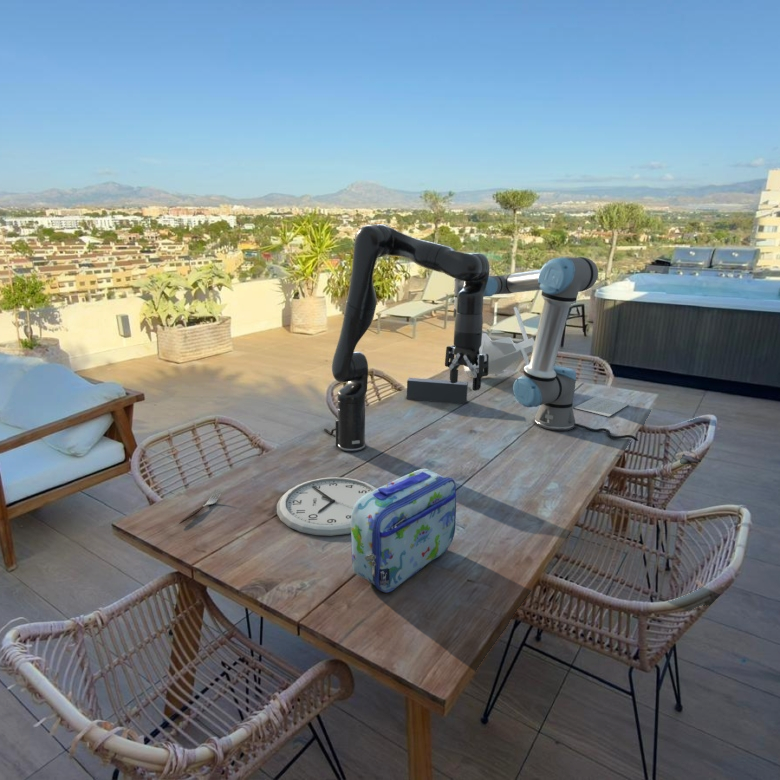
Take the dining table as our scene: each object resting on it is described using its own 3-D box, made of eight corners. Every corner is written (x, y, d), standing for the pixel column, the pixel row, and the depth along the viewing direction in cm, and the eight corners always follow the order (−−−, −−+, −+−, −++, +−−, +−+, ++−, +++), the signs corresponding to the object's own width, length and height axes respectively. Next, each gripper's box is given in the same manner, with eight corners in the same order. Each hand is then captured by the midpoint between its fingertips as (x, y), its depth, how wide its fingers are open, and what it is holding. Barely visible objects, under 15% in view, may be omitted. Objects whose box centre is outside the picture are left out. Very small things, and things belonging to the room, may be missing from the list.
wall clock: (392, 527, 129) (268, 531, 127) (391, 533, 130) (269, 537, 127) (383, 473, 158) (282, 475, 155) (383, 478, 158) (282, 480, 156)
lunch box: (379, 605, 105) (380, 513, 99) (344, 580, 112) (343, 493, 106) (459, 552, 123) (464, 471, 116) (425, 533, 130) (428, 456, 124)
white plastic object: (484, 418, 267) (463, 395, 242) (465, 346, 289) (445, 318, 264) (554, 394, 255) (540, 367, 230) (529, 321, 277) (514, 289, 252)
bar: (466, 400, 231) (467, 382, 229) (466, 403, 227) (467, 385, 225) (408, 395, 236) (409, 377, 234) (406, 399, 232) (407, 380, 230)
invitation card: (608, 416, 214) (573, 407, 224) (608, 416, 214) (573, 408, 224) (628, 404, 229) (594, 396, 238) (628, 405, 229) (594, 397, 238)
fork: (175, 524, 132) (174, 517, 132) (215, 495, 146) (215, 489, 146) (183, 526, 131) (182, 519, 131) (223, 497, 146) (222, 490, 145)
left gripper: (440, 326, 145) (437, 382, 150) (478, 335, 134) (474, 395, 139) (459, 323, 149) (456, 378, 154) (497, 332, 139) (493, 390, 143)
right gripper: (456, 303, 230) (454, 350, 236) (450, 311, 207) (448, 363, 213) (473, 304, 229) (471, 351, 235) (469, 312, 205) (467, 364, 211)
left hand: (464, 386), depth 147 cm, fingers open, 8 cm apart
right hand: (460, 357), depth 224 cm, fingers open, 13 cm apart
